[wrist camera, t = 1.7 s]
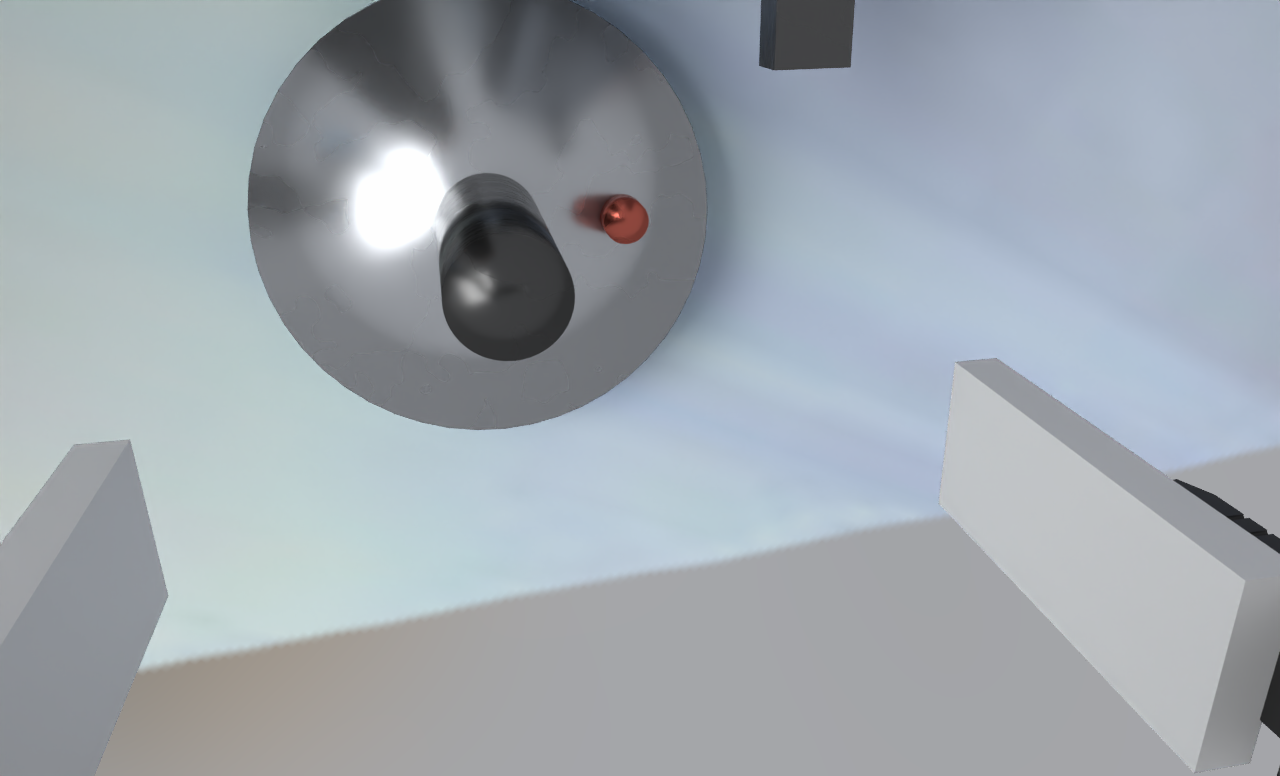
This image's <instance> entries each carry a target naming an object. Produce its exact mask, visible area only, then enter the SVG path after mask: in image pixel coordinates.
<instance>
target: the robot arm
mask: <svg viewBox="0 0 1280 776" xmlns="http://www.w3.org/2000/svg"><path fill="white" fill-rule="evenodd" d="M939 505H940V506H941V507H942V508H943V509H944V510H945V511H946V512H947V513H948V514H949V515H950V516H951V517H952V518H953V519H954V520H955V521H956V522H957V523H958V525H959V526H960V527H961V528H962V529H963V530H964V531H965V532H966V533H967V534H968V535H969V536H970V537H971V538H972V539H973V540H974V541H975V542H976V544H978V546H979V547H980V548H981V549H982V550H983V551H984V552H985V553H986V554H987V555H988V556H989V557H990V558H991V559H992V560H993V561H994V563H996V565H997V566H998V567H999V568H1000V569H1001V570H1002V571H1003V572H1004V573H1005V574H1006V575H1007V576H1008V577H1009V578H1010V579H1011V580H1012V581H1013V583H1015V585H1016V586H1017V587H1018V588H1019V589H1020V590H1021V591H1022V592H1023V593H1024V594H1025V595H1026V596H1027V597H1028V598H1029V599H1030V600H1031V601H1032V603H1033V604H1034V605H1035V606H1036V607H1037V608H1038V609H1039V610H1040V611H1041V612H1042V613H1043V614H1044V615H1045V616H1046V617H1047V618H1048V619H1049V621H1050V622H1051V623H1052V624H1053V625H1054V626H1055V627H1056V628H1057V629H1058V630H1059V631H1060V632H1061V633H1062V634H1063V635H1064V636H1065V637H1066V638H1067V640H1068V641H1069V642H1070V643H1071V644H1072V645H1073V646H1074V647H1075V648H1076V649H1077V650H1078V651H1079V652H1080V653H1081V654H1082V655H1083V656H1084V657H1085V658H1086V660H1087V661H1088V662H1089V663H1090V664H1091V665H1092V666H1093V667H1094V668H1095V669H1096V670H1097V671H1098V672H1099V673H1100V674H1101V675H1102V676H1103V677H1104V679H1105V680H1106V681H1107V682H1108V683H1109V684H1110V685H1111V686H1112V687H1113V688H1114V689H1115V690H1116V691H1117V692H1118V693H1119V694H1120V695H1121V696H1122V698H1123V699H1125V701H1126V702H1127V703H1128V704H1129V705H1130V706H1131V707H1132V708H1133V709H1134V710H1135V711H1136V712H1137V713H1138V714H1139V715H1140V717H1142V719H1143V720H1144V721H1145V722H1146V723H1147V724H1148V725H1149V726H1150V727H1151V728H1152V729H1153V730H1154V731H1155V732H1156V733H1157V734H1158V736H1160V738H1161V739H1162V740H1163V741H1164V742H1165V743H1166V744H1167V745H1168V746H1169V747H1170V748H1171V749H1172V750H1173V751H1174V752H1175V753H1176V754H1177V756H1178V757H1179V758H1180V759H1181V760H1182V761H1183V762H1184V763H1185V764H1186V765H1187V766H1188V767H1189V768H1190V769H1191V770H1192V771H1193V772H1194V773H1198V772H1204V771H1210V770H1215V769H1221V768H1226V767H1232V766H1238V765H1243V764H1249V763H1250V761H1251V758H1252V754H1253V751H1254V748H1255V744H1256V741H1257V737H1258V734H1259V730H1260V727H1261V724H1262V722H1263V723H1264V724H1265V725H1266V726H1267V727H1268V728H1269V729H1270V730H1272V731H1273V732H1274V733H1275V734H1276V735H1277V736H1278V737H1279V738H1280V538H1278V537H1276V536H1275V535H1274V534H1270V535H1268V533H1267V530H1266V529H1265V528H1263V527H1262V526H1260V525H1259V524H1257V523H1256V522H1254V521H1253V520H1251V519H1250V518H1244V516H1243V514H1242V513H1241V512H1240V511H1238V510H1237V509H1235V508H1234V507H1232V506H1231V505H1229V504H1228V503H1226V502H1225V501H1223V500H1222V499H1220V498H1218V497H1217V496H1216V495H1214V494H1212V493H1209V492H1207V491H1204V490H1202V489H1199V488H1197V487H1194V486H1192V485H1190V484H1187V483H1185V482H1182V481H1180V480H1177V479H1175V480H1172V479H1171V478H1169V477H1168V476H1166V475H1165V474H1163V473H1162V472H1160V471H1159V470H1158V469H1156V468H1155V467H1153V466H1152V465H1150V464H1149V463H1147V462H1146V461H1145V460H1143V459H1142V458H1140V457H1139V456H1137V455H1136V454H1134V453H1133V452H1132V451H1130V450H1129V449H1127V448H1126V447H1124V446H1123V445H1121V444H1120V443H1119V442H1117V441H1116V440H1114V439H1113V438H1111V437H1110V436H1108V435H1107V434H1105V433H1104V432H1103V431H1101V430H1100V429H1098V428H1097V427H1095V426H1094V425H1092V424H1091V423H1090V422H1088V421H1087V420H1085V419H1084V418H1082V417H1081V416H1079V415H1078V414H1077V413H1075V412H1074V411H1072V410H1071V409H1069V408H1068V407H1066V406H1065V405H1064V404H1062V403H1061V402H1059V401H1058V400H1056V399H1055V398H1053V397H1052V396H1051V395H1049V394H1048V393H1046V392H1045V391H1043V390H1042V389H1040V388H1039V387H1038V386H1036V385H1035V384H1033V383H1032V382H1030V381H1029V380H1027V379H1026V378H1025V377H1023V376H1022V375H1020V374H1019V373H1017V372H1016V371H1014V370H1013V369H1011V368H1010V367H1009V366H1007V365H1006V364H1004V363H1003V362H1001V361H1000V360H998V359H997V358H993V359H982V360H972V361H961V362H955V367H954V376H953V384H952V393H951V401H950V410H949V418H948V427H947V436H946V444H945V453H944V461H943V470H942V478H941V487H940V495H939ZM167 598H168V593H167V589H166V585H165V580H164V576H163V572H162V568H161V564H160V560H159V556H158V552H157V548H156V544H155V540H154V536H153V532H152V527H151V523H150V519H149V515H148V511H147V507H146V503H145V499H144V495H143V491H142V487H141V483H140V479H139V474H138V470H137V466H136V462H135V458H134V454H133V450H132V446H131V442H130V440H120V441H109V442H98V443H88V444H77V445H73V447H72V448H71V449H70V451H69V452H68V453H67V455H66V456H65V458H64V459H63V460H62V462H61V463H60V464H59V466H58V467H57V468H56V470H55V471H54V472H53V474H52V475H51V477H50V478H49V479H48V481H47V482H46V483H45V485H44V486H43V487H42V489H41V490H40V491H39V493H38V494H37V496H36V497H35V498H34V500H33V501H32V502H31V504H30V505H29V506H28V508H27V509H26V510H25V512H24V513H23V514H22V516H21V517H20V519H19V520H18V521H17V523H16V524H15V525H14V527H13V528H12V529H11V531H10V532H9V533H8V535H7V536H6V538H5V539H4V540H3V542H2V543H1V544H0V776H94V775H95V773H96V770H97V768H98V765H99V763H100V760H101V758H102V755H103V753H104V751H105V748H106V746H107V743H108V741H109V738H110V736H111V734H112V731H113V729H114V726H115V724H116V722H117V719H118V717H119V714H120V712H121V709H122V707H123V705H124V702H125V699H126V697H127V695H128V692H129V690H130V687H131V685H132V683H133V680H134V677H135V675H136V673H137V671H138V668H139V666H140V663H141V661H142V658H143V656H144V654H145V651H146V649H147V646H148V644H149V641H150V639H151V637H152V634H153V632H154V629H155V627H156V624H157V622H158V620H159V617H160V615H161V612H162V610H163V607H164V605H165V603H166V600H167ZM1277 776H1280V768H1279V771H1278V774H1277Z"/></svg>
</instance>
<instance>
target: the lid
mask: <svg viewBox="0 0 1280 776" xmlns="http://www.w3.org/2000/svg"><path fill="white" fill-rule="evenodd" d="M248 217H249V227H250V236H251V243H252V247H253V251H254V255H255V259H256V263H257V267H258V271H259V273H260V276H261V278H262V281H263V283H264V286H265V288H266V291H267V293H268V296H269V298H270V300H271V302H272V304H273V305H274V307H275V309H276V311H277V312H278V314H279V316H280V318H281V320H282V321H283V323H284V325H285V326H286V327H287V329H288V330H289V331H290V333H291V334H292V335H293V337H294V338H295V339H296V341H297V342H298V343H299V345H300V346H301V347H302V349H303V350H304V351H305V352H306V353H307V354H308V355H309V356H310V357H311V358H312V359H313V360H314V361H315V362H316V363H317V364H318V365H319V366H320V367H321V368H322V369H323V370H324V371H326V372H327V373H328V374H329V375H331V376H332V377H333V378H334V379H335V380H337V381H338V382H339V383H340V384H342V385H343V386H344V387H346V388H347V389H349V390H351V391H352V392H354V393H355V394H357V395H359V396H360V397H362V398H364V399H365V400H367V401H368V402H370V403H372V404H375V405H377V406H379V407H381V408H383V409H386V410H388V411H390V412H392V413H394V414H397V415H400V416H403V417H406V418H409V419H413V420H416V421H419V422H422V423H427V424H432V425H437V426H443V427H448V428H459V429H472V430H485V429H505V428H512V427H518V426H524V425H530V424H534V423H538V422H541V421H545V420H548V419H552V418H555V417H558V416H561V415H563V414H565V413H568V412H570V411H573V410H575V409H577V408H580V407H582V406H584V405H586V404H588V403H589V402H591V401H593V400H595V399H596V398H598V397H600V396H602V395H603V394H605V393H607V392H608V391H609V390H611V389H612V388H614V387H615V386H616V385H618V384H619V383H620V382H622V381H623V380H624V379H626V378H627V377H628V376H629V375H630V374H632V373H633V372H634V371H635V370H636V369H637V368H638V367H639V366H640V365H641V364H642V363H643V362H644V361H645V360H646V359H647V358H648V357H649V356H650V355H651V354H652V352H653V351H654V350H655V349H656V348H657V346H658V345H659V344H660V343H661V342H662V340H663V339H664V338H665V336H666V335H667V333H668V332H669V330H670V329H671V327H672V326H673V324H674V323H675V321H676V320H677V318H678V316H679V315H680V313H681V310H682V308H683V306H684V304H685V302H686V300H687V298H688V296H689V294H690V292H691V289H692V286H693V283H694V280H695V277H696V275H697V272H698V269H699V266H700V261H701V256H702V251H703V246H704V241H705V234H706V220H707V197H706V181H705V176H704V170H703V165H702V159H701V154H700V151H699V148H698V145H697V142H696V138H695V135H694V132H693V129H692V126H691V124H690V122H689V120H688V118H687V116H686V113H685V111H684V109H683V107H682V105H681V103H680V101H679V99H678V97H677V96H676V94H675V93H674V91H673V90H672V88H671V87H670V85H669V83H668V82H667V80H666V79H665V77H664V76H663V74H662V73H661V72H660V71H659V70H658V68H657V67H656V66H655V65H654V64H653V63H652V61H651V60H650V59H649V58H648V57H647V55H646V54H645V53H644V52H643V51H642V50H641V49H640V48H639V47H638V46H637V45H635V44H634V43H633V42H632V41H631V40H630V39H629V38H628V37H627V36H625V35H624V34H623V33H622V32H621V31H620V30H618V29H617V28H615V27H614V26H613V25H611V24H610V23H608V22H607V21H605V20H604V19H602V18H601V17H599V16H598V15H596V14H595V13H593V12H591V11H589V10H587V9H585V8H583V7H581V6H579V5H577V4H575V3H573V2H571V1H569V0H378V1H376V2H374V3H372V4H370V5H368V6H367V7H365V8H363V9H361V10H360V11H358V12H356V13H354V14H353V15H351V16H349V17H348V18H346V19H345V20H344V21H342V22H341V23H340V24H339V25H337V26H336V27H335V28H333V29H332V30H331V31H330V32H328V33H327V34H326V35H325V36H323V37H322V38H321V39H320V40H319V41H318V42H317V43H316V44H315V45H314V46H313V47H312V48H311V49H310V50H309V51H308V52H307V53H306V54H305V55H304V57H303V58H302V59H301V60H300V61H299V62H298V63H297V64H296V66H295V67H294V68H293V70H292V71H291V73H290V74H289V76H288V77H287V78H286V80H285V81H284V83H283V84H282V86H281V87H280V88H279V90H278V92H277V94H276V96H275V98H274V100H273V102H272V104H271V106H270V108H269V110H268V112H267V114H266V116H265V118H264V120H263V123H262V126H261V129H260V132H259V135H258V138H257V141H256V144H255V147H254V153H253V158H252V164H251V169H250V175H249V187H248Z"/></svg>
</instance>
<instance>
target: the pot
mask: <svg viewBox="0 0 1280 776" xmlns="http://www.w3.org/2000/svg"><path fill="white" fill-rule="evenodd" d="M854 5H855V0H761V25H760V58H759V66H762V67H765V68H769V69H772V70H794V69H819V68H844V67H850V66H851V51H852V36H853V20H854Z"/></svg>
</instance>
